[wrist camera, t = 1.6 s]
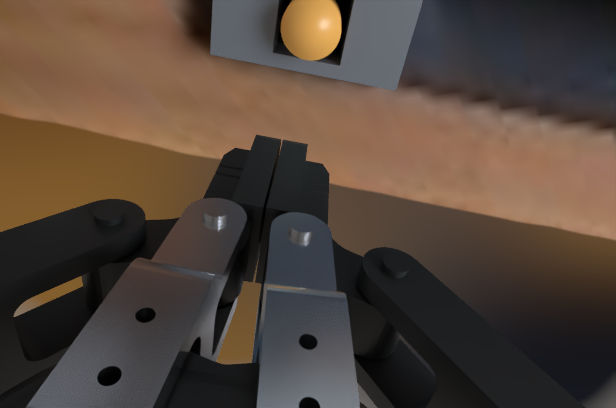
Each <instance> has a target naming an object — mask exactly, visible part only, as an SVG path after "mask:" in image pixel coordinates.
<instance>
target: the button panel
mask: <svg viewBox="0 0 616 408" xmlns="http://www.w3.org/2000/svg"><path fill="white" fill-rule="evenodd" d="M422 2H423V0H351V5H350V10H349V14H348V19H347V24H346V28H345V33H344V38H343V43H342V47H341V52H340V55H337V54H332V53H330V54H329V55H328V56H326V57H324V58H322V59H319V60H314V61H309V60H304V59H301V58H298V57H297V56H295V55H294V54H292V53H291V52H290V51H289V50H288V48H287V47H286V45H285V44H282V43H277V41H278V34H279V26H280V18H281V11H282V3H283V0H213V4H212V25H211V47H210V55H215V56H220V57H225V58H230V59H236V60H241V61H246V62H251V63H256V64H261V65H266V66H271V67H277V68H282V69H287V70H292V71H297V72H302V73H307V74H313V75H318V76H323V77H328V78H333V79H338V80H343V81H349V82H354V83H359V84H364V85H369V86H374V87H379V88H384V89H390V90H395V91H396V89H397V85H398V82H399V79H400V75H401V72H402V69H403V65H404V62H405V59H406V55H407V52H408V49H409V45H410V42H411V39H412V35H413V32H414V29H415V25H416V22H417V19H418V15H419V12H420V9H421V5H422Z"/></svg>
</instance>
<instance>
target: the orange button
mask: <svg viewBox="0 0 616 408" xmlns="http://www.w3.org/2000/svg"><path fill="white" fill-rule="evenodd" d="M281 35H282V39H283V42H284V44H285V45H286V47H287V48H288V50H289V51H290V52H291V53H292V54H294V55H295V56H297V57H298V58H301V59H304V60H309V61H314V60H319V59H322V58H324V57H326V56H328V55H329V54H330V53H331V52H332V51H333V50H334V49H335V48H336V46H337V44H338V42H339V40H340V37H341V12H340V8H339V5H338V4H337V2H336V0H291V2H290V4H289V5H288V7H287V9H286V11H285V13H284V15H283V17H282V21H281Z"/></svg>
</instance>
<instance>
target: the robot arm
mask: <svg viewBox="0 0 616 408" xmlns="http://www.w3.org/2000/svg"><path fill="white" fill-rule="evenodd" d="M307 145H308V144H304V143H298V142H293V141H288V140H283V143H282V147H281V151H280V146H281V139H276V138H271V137H266V136H260V135H256V137H255V139H254V142H253V145H252V147H251V150H244V149H239V148H234V149H233V150H231V151H230V152H228V153H226V154H225V155H224V156H223V158H222V160H221V162H220V164H219V167H218V169H217V171H216V173H215V175H214V177H213V179H212V181H211V183H210V185H209V188H208V189H207V191H206V193H205V195H204V198H203V199H200V200H198V201H195V202H193V203H191V204H190V205H189V206H188V207H187V208H186V209H185V211H184V212H183V213H182V215H181V217H179V218H175V219H166V220H145V213H144V211H143V210H142V208H140V207H139V206H138V205H136V204H134V203H132V202H129V201H126V200H120V199H107V200H100V201H96V202H92V203H89V204H86V205H83V206H80V207H77V208H74V209H70V210H67V211H64V212H61V213H58V214H55V215H52V216H49V217H46V218H43V219H40V220H37V221H34V222H31V223H28V224H24V225H21V226H18V227H15V228H12V229H9V230H6V231H3V232H0V408H367V407H366V406H365V405H364V404H362V403H361V402H359V394H358V386H357V382H358V383H359V385H360V386H361V387H362V388H363V389H364V391H365V392H366V393H367V395H368V396H369V397H370V399H371V400H372V401H373V402H374V404H375V405H376V406H377V407H378V408H585V407H584V406H583V405H582V404H580V403H579V402H578V401H577V400H576V399H575V398H574V397H572V396H571V395H570V394H569V393H568V392H567V391H565V390H564V389H563V388H562V387H561V386H560V385H559V384H557V383H556V382H555V381H554V380H553V379H552V378H551V377H549V376H548V375H547V374H546V373H545V372H544V371H543V370H541V369H540V368H539V367H538V366H537V365H536V364H535V363H533V362H532V361H531V360H530V359H529V358H528V357H526V356H525V355H524V354H523V353H522V352H521V351H520V350H519V349H517V348H516V347H515V346H514V345H513V344H512V343H510V342H509V341H508V340H507V339H506V338H505V337H504V336H503V335H501V334H500V333H499V332H498V331H497V330H496V329H494V328H493V327H492V326H491V325H490V324H489V323H488V322H487V321H485V320H484V319H483V318H482V317H481V316H480V315H479V314H477V313H476V312H475V311H474V310H473V309H472V308H471V307H469V306H468V305H467V304H466V303H465V302H464V301H463V300H461V299H460V298H459V297H458V296H457V295H456V294H454V293H453V292H452V291H451V290H450V289H449V288H448V287H446V286H445V285H444V284H443V283H442V282H441V281H440V280H438V279H437V278H436V277H435V276H434V275H433V274H432V273H430V272H429V271H428V270H427V269H426V268H425V267H424V266H422V265H421V264H420V263H419V262H418V261H417V260H416V259H414V258H413V257H412V256H410V255H408V254H407V253H405V252H402V251H400V250H397V249H393V248H386V247H381V248H375V249H372V250H370V251H368V252H367V253H366V254H365V255H364V257H362V256H360V255H357V254H355V253H352V252H350V251H348V250H346V249H344V248H343V247H341V246H340V245H338V244H337V243H336V242H335V241H334V240H333V239H332V235H331V231H330V229H329V227H328V225H327V224H328V196H329V195H328V194H329V173H328V171H327V170H326V168H325V167H324V165H323V164H320V163H315V162H310V161H305V160H306V153H307ZM279 152H280V155H279ZM259 253H260V254H259ZM258 257H259V261H258ZM257 261H258V267H257V274H256V281H255V282H256V283H261V284H262V286H261V292H260V298H259V304H258V310H257V319H256V329H255V339H254V348H253V358H252V363H247V364H232V365H224V364H220V363H217V362H216V360H217V357H218V354H219V352H220V349H221V346H222V343H223V341H224V338H225V335H226V333H227V330H228V327H229V324H230V322H231V319H232V316H233V314H234V311H235V308H236V304H237V298H238V295H239V294H240V292H241V288H242V284H243V281H248V282H253V278H254V274H255V270H256V265H257ZM79 276H82V282H83V287H81V288H78V289H76V290H74V291H72V292H70V293H67V294H65V295H63V296H61V297H59V298H56V299H54V300H52V301H50V302H48V303H45V304H43V305H41V306H39V307H37V308H34V309H32V310H30V311H28V312H26V313H23V314H21V315H19V316H16V317H13V316H14V313H15V311H16V309H17V308H18V307H19V306H20V305H21V304H22V303H23V302H25V301H26V300H28V299H29V298H31V297H34V296H36V295H38V294H40V293H43V292H45V291H47V290H50V289H52V288H54V287H56V286H59V285H61V284H63V283H66V282H68V281H70V280H73V279H75V278H77V277H79ZM401 336H402V337H403V338H404V339H405V340H406V341H407V342H408V343H409V344H410V345H411V346H412V347H413V348H414V349H415V350H416V351H417V352H418V354H419V355H420V356H421V357H422V358H423V359H424V360H425V361H426V362H427V363H428V364H429V365H430V367H431V368H432V370H433V371H434V373H435V375H436V377H435V376H434V375H433V374H432V373H431V372H430V371H429V370H428V369H427V368H426V366H424V364H423V363H422V362H421V361H420V360H419V359H418V358H417V357H416V356H415V355H414V354H413V353H412V352H411V351H410V349H408V347H407V346H406V345H405V344H404V343H403V342H402V341H401V340H400V337H401Z"/></svg>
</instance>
